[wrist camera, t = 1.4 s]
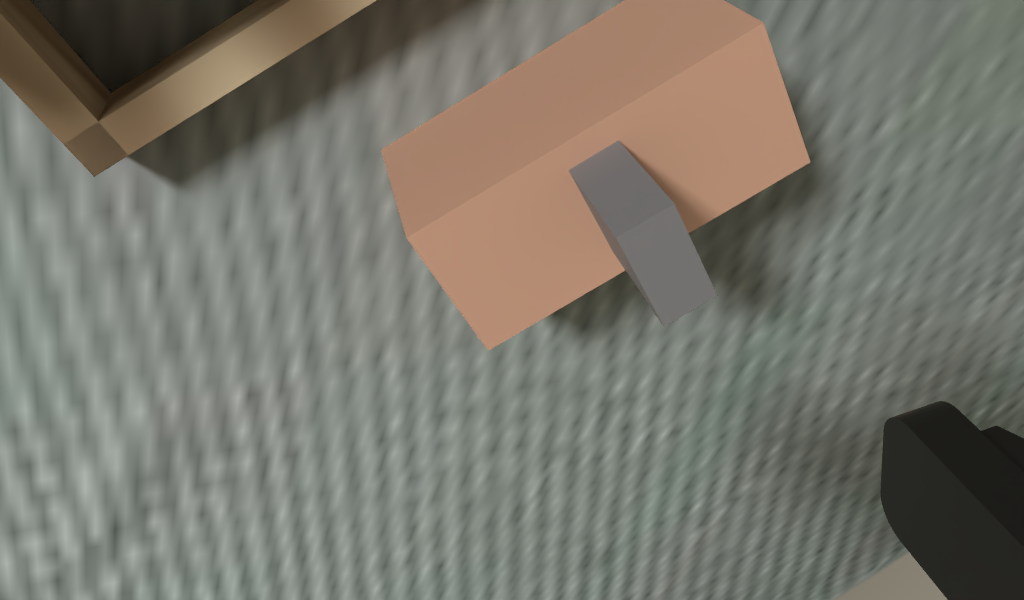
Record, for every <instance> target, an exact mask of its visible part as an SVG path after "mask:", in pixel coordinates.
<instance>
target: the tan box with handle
mask: <svg viewBox="0 0 1024 600" xmlns="http://www.w3.org/2000/svg"><path fill="white" fill-rule="evenodd" d="M381 151H382V154H383V158H384V161H385V165H386V168H387V172H388V175H389V179H390V182H391V186H392V189H393V193H394V196H395V200H396V203H397V207H398V210H399V214H400V217H401V221H402V224H403V228H404V231H405V235H406V238H407V239H408V241H409V242H410V243H411V245H412V246H413V248H414V249H415V250H416V252H417V253H418V255H419V256H420V257H421V259H422V260H423V261H424V263H425V264H426V266H427V267H428V268H429V270H430V271H431V272H432V274H433V275H434V277H435V278H436V279H437V281H438V282H439V283H440V285H441V286H442V288H443V289H444V290H445V292H446V293H447V295H448V296H449V297H450V299H451V300H452V301H453V303H454V304H455V306H456V307H457V308H458V310H459V311H460V312H461V314H462V315H463V317H464V318H465V319H466V321H467V322H468V323H469V325H470V326H471V328H472V329H473V330H474V332H475V333H476V335H477V336H478V337H479V339H480V340H481V341H482V343H483V344H484V346H485V347H486V348H487V350H490V349H492V348H494V347H495V346H497V345H499V344H500V343H502V342H504V341H506V340H507V339H509V338H511V337H512V336H514V335H516V334H518V333H519V332H521V331H523V330H524V329H526V328H528V327H530V326H531V325H533V324H535V323H536V322H538V321H540V320H542V319H543V318H545V317H547V316H548V315H550V314H552V313H553V312H555V311H557V310H559V309H560V308H562V307H564V306H565V305H567V304H569V303H571V302H572V301H574V300H576V299H577V298H579V297H581V296H583V295H584V294H586V293H588V292H589V291H591V290H593V289H595V288H596V287H598V286H600V285H601V284H603V283H605V282H606V281H608V280H610V279H612V278H613V277H615V276H617V275H618V274H620V273H622V272H624V271H625V270H626V272H627V273H628V275H629V276H630V278H631V279H632V281H633V282H634V284H635V285H636V287H637V288H638V290H639V291H640V292H641V294H642V295H643V297H644V298H645V300H646V301H647V303H648V304H649V306H650V307H651V309H652V310H653V312H654V313H655V315H656V316H657V317H658V319H659V320H660V322H661V323H662V325H663V326H666V325H667V324H669V323H671V322H673V321H674V320H676V319H678V318H679V317H681V316H683V315H685V314H686V313H688V312H690V311H692V310H693V309H695V308H697V307H699V306H700V305H702V304H704V303H705V302H707V301H709V300H711V299H712V298H714V297H716V296H718V295H717V293H716V291H715V289H714V287H713V285H712V283H711V280H710V278H709V276H708V274H707V272H706V270H705V268H704V266H703V263H702V261H701V259H700V257H699V255H698V253H697V251H696V248H695V246H694V244H693V242H692V240H691V238H690V236H689V233H690V232H692V231H694V230H695V229H697V228H699V227H701V226H702V225H704V224H706V223H707V222H709V221H711V220H713V219H714V218H716V217H718V216H719V215H721V214H723V213H725V212H726V211H728V210H730V209H731V208H733V207H735V206H736V205H738V204H740V203H742V202H743V201H745V200H747V199H748V198H750V197H752V196H754V195H755V194H757V193H759V192H760V191H762V190H764V189H766V188H767V187H769V186H771V185H772V184H774V183H776V182H778V181H779V180H781V179H783V178H784V177H786V176H788V175H790V174H791V173H793V172H795V171H796V170H798V169H800V168H801V167H803V166H805V165H807V164H808V163H810V159H809V156H808V153H807V150H806V147H805V144H804V141H803V138H802V135H801V132H800V129H799V126H798V123H797V121H796V118H795V115H794V112H793V109H792V106H791V103H790V100H789V97H788V94H787V91H786V88H785V85H784V82H783V79H782V76H781V73H780V70H779V67H778V64H777V61H776V58H775V55H774V52H773V49H772V46H771V43H770V40H769V37H768V34H767V32H766V29H765V26H764V23H763V22H761V21H760V20H758V19H756V18H754V17H753V16H751V15H749V14H747V13H745V12H744V11H742V10H740V9H738V8H737V7H735V6H733V5H731V4H730V3H728V2H726V1H724V0H625V1H623V2H621V3H620V4H618V5H616V6H615V7H613V8H612V9H610V10H608V11H607V12H605V13H603V14H602V15H600V16H598V17H597V18H595V19H594V20H592V21H590V22H589V23H587V24H585V25H584V26H582V27H581V28H579V29H577V30H576V31H574V32H572V33H571V34H569V35H567V36H566V37H564V38H563V39H561V40H559V41H558V42H556V43H554V44H553V45H551V46H550V47H548V48H546V49H545V50H543V51H541V52H540V53H538V54H537V55H535V56H533V57H532V58H530V59H528V60H527V61H525V62H523V63H522V64H520V65H519V66H517V67H515V68H514V69H512V70H510V71H509V72H507V73H506V74H504V75H502V76H501V77H499V78H497V79H496V80H494V81H493V82H491V83H489V84H488V85H486V86H484V87H483V88H481V89H479V90H478V91H476V92H475V93H473V94H471V95H470V96H468V97H466V98H465V99H463V100H462V101H460V102H458V103H457V104H455V105H453V106H452V107H450V108H448V109H447V110H445V111H444V112H442V113H440V114H439V115H437V116H435V117H434V118H432V119H431V120H429V121H427V122H426V123H424V124H422V125H421V126H419V127H418V128H416V129H414V130H413V131H411V132H409V133H408V134H406V135H404V136H403V137H401V138H400V139H398V140H396V141H395V142H393V143H391V144H390V145H388V146H387V147H385V148H383V149H382V150H381Z"/></svg>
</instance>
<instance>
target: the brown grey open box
mask: <svg viewBox="0 0 1024 600" xmlns="http://www.w3.org/2000/svg"><path fill="white" fill-rule="evenodd" d="M375 1H376V0H257V1H255V2H254V3H252V4H251V5H249V6H248V7H246V8H244V9H243V10H241V11H240V12H238V13H236V14H235V15H233V16H232V17H230V18H229V19H227V20H225V21H224V22H222V23H221V24H219V25H217V26H216V27H214V28H213V29H211V30H210V31H208V32H206V33H205V34H203V35H202V36H200V37H199V38H197V39H195V40H194V41H192V42H191V43H189V44H187V45H186V46H184V47H183V48H181V49H180V50H178V51H176V52H175V53H173V54H172V55H170V56H169V57H167V58H165V59H164V60H162V61H161V62H159V63H157V64H156V65H154V66H153V67H151V68H150V69H148V70H146V71H145V72H143V73H142V74H140V75H139V76H137V77H135V78H134V79H132V80H131V81H129V82H127V83H126V84H124V85H123V86H121V87H120V88H118V89H116V90H115V91H113V92H112V93H110V92H109V90H108V89H107V88H106V87H105V86H104V85H103V84H102V82H101V81H100V80H99V79H98V78H97V77H96V76H95V74H94V73H93V72H92V71H91V70H90V69H89V67H88V66H87V65H86V64H85V63H84V62H83V61H82V59H81V58H80V57H79V56H78V55H77V54H76V53H75V51H74V50H73V49H72V48H71V47H70V46H69V45H68V43H67V42H66V41H65V40H64V39H63V38H62V37H61V35H60V34H59V33H58V32H57V31H56V30H55V28H54V27H53V26H52V25H51V24H50V23H49V22H48V20H47V19H46V18H45V17H44V16H43V15H42V14H41V12H40V11H39V10H38V9H37V8H36V7H35V6H34V4H33V3H32V2H31V1H30V0H0V78H1V79H2V80H3V81H4V82H5V83H6V84H7V85H8V86H9V87H10V88H11V89H12V90H13V92H14V93H15V94H16V95H17V96H18V97H19V98H20V99H21V100H22V101H23V102H24V103H25V104H26V105H27V106H28V107H29V108H30V109H31V110H32V112H33V113H34V114H35V115H36V116H37V117H38V118H39V119H40V120H41V121H42V122H43V123H44V124H45V125H46V126H47V127H48V128H49V129H50V131H51V132H52V133H53V134H54V135H55V136H56V137H57V138H58V139H59V140H60V141H61V142H62V143H63V144H64V145H65V146H66V147H67V148H68V150H69V151H70V152H71V153H72V154H73V155H74V156H75V157H76V158H77V159H78V160H79V161H80V162H81V163H82V164H83V165H84V166H85V167H86V169H87V170H88V171H89V172H90V173H91V174H92V175H93V176H94V177H95V176H96V175H98V174H99V173H101V172H103V171H104V170H106V169H107V168H109V167H111V166H112V165H114V164H115V163H117V162H119V161H120V160H122V159H123V158H125V157H127V156H128V155H130V154H131V153H133V152H135V151H136V150H138V149H139V148H141V147H143V146H144V145H146V144H147V143H149V142H151V141H152V140H154V139H155V138H157V137H159V136H160V135H162V134H163V133H165V132H167V131H168V130H170V129H171V128H173V127H175V126H176V125H178V124H179V123H181V122H183V121H184V120H186V119H187V118H189V117H191V116H192V115H194V114H195V113H197V112H199V111H200V110H202V109H203V108H205V107H207V106H208V105H210V104H211V103H213V102H215V101H216V100H218V99H219V98H221V97H223V96H224V95H226V94H227V93H229V92H231V91H232V90H234V89H235V88H237V87H239V86H240V85H242V84H243V83H245V82H247V81H248V80H250V79H251V78H253V77H255V76H256V75H258V74H259V73H261V72H263V71H264V70H266V69H267V68H269V67H271V66H272V65H274V64H275V63H277V62H279V61H280V60H282V59H283V58H285V57H287V56H288V55H290V54H291V53H293V52H295V51H296V50H298V49H299V48H301V47H303V46H304V45H306V44H307V43H309V42H311V41H312V40H314V39H315V38H317V37H319V36H320V35H322V34H323V33H325V32H327V31H328V30H330V29H331V28H333V27H335V26H336V25H338V24H339V23H341V22H343V21H344V20H346V19H347V18H349V17H351V16H352V15H354V14H355V13H357V12H359V11H360V10H362V9H363V8H365V7H367V6H368V5H370V4H371V3H373V2H375Z"/></svg>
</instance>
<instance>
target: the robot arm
mask: <svg viewBox="0 0 1024 600" xmlns="http://www.w3.org/2000/svg"><path fill="white" fill-rule="evenodd" d="M881 501H882V505H883V509H884V512H885V515H886V517H887V519H888V522H889V524H890V526H891V527H892V529H893V531H894V533H895V534H896V536H897V537H898V538H899V540H900V541H901V542H902V544H903V545H904V546H905V547H906V549H907V550H908V551H909V552H910V553H911V555H912V556H913V557H914V558H915V560H916V561H917V562H918V563H919V565H920V566H921V567H922V568H923V570H924V571H925V572H926V573H927V574H928V576H929V577H930V578H931V579H932V581H933V582H934V583H935V584H936V586H937V587H938V588H939V589H940V591H941V592H942V593H943V594H944V595H945V597H946V598H947V599H948V600H1024V439H1023V438H1021V437H1019V436H1017V435H1015V434H1013V433H1011V432H1009V431H1007V430H1005V429H1003V428H1001V427H999V426H994V427H991V428H988V429H986V430H983V431H980V430H979V429H978V428H977V427H976V426H975V425H974V424H973V423H972V422H970V421H969V420H968V419H967V418H966V417H965V416H964V415H963V414H962V413H961V412H960V411H959V410H958V409H957V408H955V407H954V406H953V405H951V404H949V403H947V402H944V401H939V402H936V403H933V404H930V405H927V406H924V407H921V408H918V409H915V410H912V411H909V412H907V413H904V414H901V415H898V416H895V417H892V418H889V419H888V420H887V421H886V422H885V425H884V434H883V454H882V475H881Z"/></svg>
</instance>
